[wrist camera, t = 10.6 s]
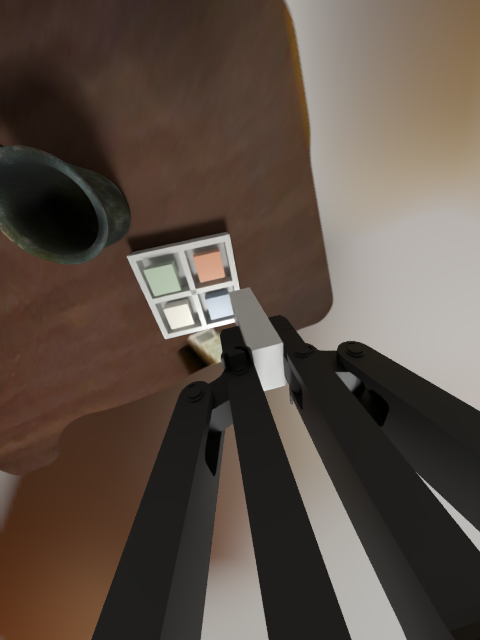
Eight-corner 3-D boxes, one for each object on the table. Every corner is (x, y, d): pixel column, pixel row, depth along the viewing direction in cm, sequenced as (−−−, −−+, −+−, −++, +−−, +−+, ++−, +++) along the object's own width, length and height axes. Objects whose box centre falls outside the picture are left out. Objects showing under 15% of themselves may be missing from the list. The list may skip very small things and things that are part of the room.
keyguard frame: (167, 330, 44) (165, 339, 41) (132, 251, 35) (126, 256, 33) (242, 312, 45) (245, 319, 43) (226, 231, 37) (229, 234, 34)
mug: (113, 259, 36) (79, 283, 25) (11, 190, 29) (-91, 184, 19) (148, 209, 33) (126, 212, 23) (44, 119, 26) (-53, 66, 16)
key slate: (210, 312, 43) (211, 320, 40) (204, 293, 41) (205, 299, 38) (231, 307, 43) (233, 314, 41) (227, 288, 41) (229, 294, 38)
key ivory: (173, 321, 43) (171, 329, 40) (165, 302, 40) (163, 309, 38) (194, 316, 43) (194, 324, 40) (188, 297, 40) (187, 303, 38)
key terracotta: (200, 277, 39) (200, 282, 36) (193, 253, 36) (192, 257, 34) (223, 271, 39) (225, 277, 37) (218, 247, 37) (219, 251, 34)
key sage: (157, 289, 37) (154, 296, 34) (147, 265, 35) (143, 270, 32) (182, 283, 37) (181, 290, 35) (173, 259, 35) (171, 264, 32)
